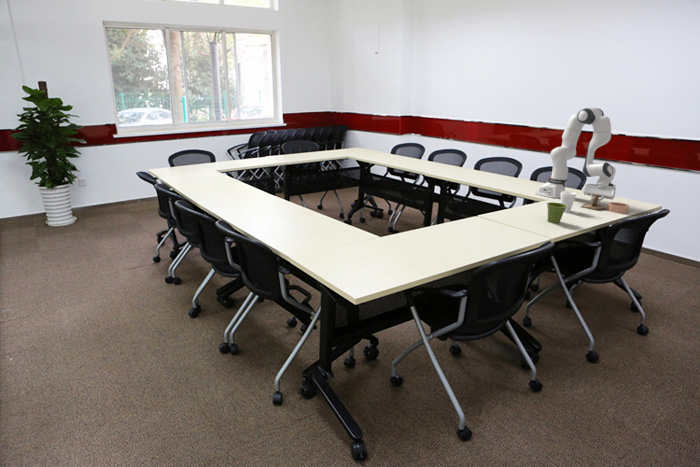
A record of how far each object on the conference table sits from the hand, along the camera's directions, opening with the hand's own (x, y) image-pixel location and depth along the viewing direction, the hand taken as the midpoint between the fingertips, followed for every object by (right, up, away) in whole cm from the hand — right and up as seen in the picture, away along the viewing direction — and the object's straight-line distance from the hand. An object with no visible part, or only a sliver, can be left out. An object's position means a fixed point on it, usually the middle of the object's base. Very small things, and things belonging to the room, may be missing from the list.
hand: (595, 201), depth 316 cm
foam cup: (-25, -8, -7) cm, 27 cm away
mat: (0, -5, +3) cm, 5 cm away
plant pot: (-45, -16, -33) cm, 58 cm away
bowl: (+13, -8, -4) cm, 16 cm away
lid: (0, -5, +2) cm, 5 cm away
